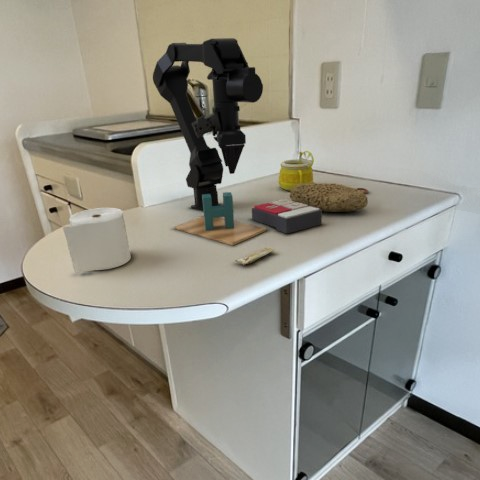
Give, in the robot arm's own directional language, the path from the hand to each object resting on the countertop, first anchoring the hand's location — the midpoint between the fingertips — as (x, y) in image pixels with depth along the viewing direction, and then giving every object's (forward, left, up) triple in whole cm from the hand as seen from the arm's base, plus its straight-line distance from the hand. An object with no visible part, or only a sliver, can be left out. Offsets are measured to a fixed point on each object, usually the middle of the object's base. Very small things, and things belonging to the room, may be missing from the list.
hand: (229, 169), depth 112 cm
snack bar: (+24, -19, -12) cm, 33 cm away
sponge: (+18, +19, -12) cm, 29 cm away
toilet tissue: (-1, -39, -12) cm, 41 cm away
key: (+18, +33, -12) cm, 40 cm away
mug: (-2, +32, -12) cm, 34 cm away
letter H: (+5, -10, -11) cm, 16 cm away
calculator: (+15, +4, -12) cm, 20 cm away
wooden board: (+5, -10, -12) cm, 16 cm away
